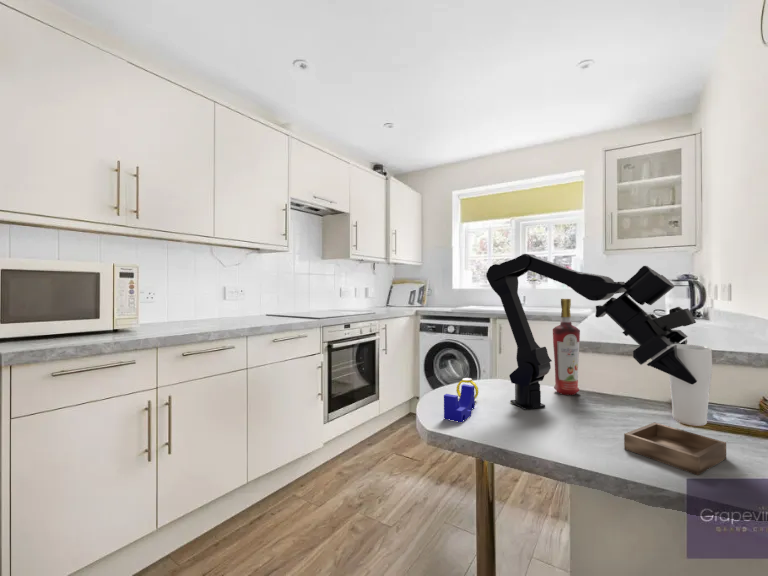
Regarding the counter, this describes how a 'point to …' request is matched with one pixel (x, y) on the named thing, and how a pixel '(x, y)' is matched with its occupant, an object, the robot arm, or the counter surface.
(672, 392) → the drinking glass
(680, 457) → the walnut box
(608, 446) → the counter surface
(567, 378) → the liquor
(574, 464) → the counter surface
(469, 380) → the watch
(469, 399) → the blue u-shaped holder
